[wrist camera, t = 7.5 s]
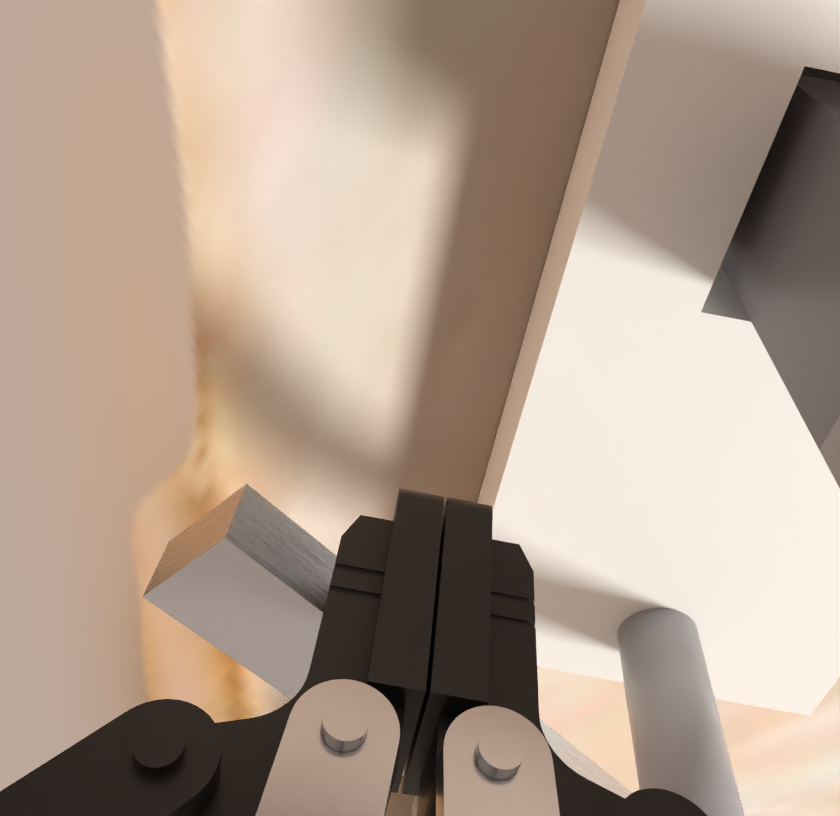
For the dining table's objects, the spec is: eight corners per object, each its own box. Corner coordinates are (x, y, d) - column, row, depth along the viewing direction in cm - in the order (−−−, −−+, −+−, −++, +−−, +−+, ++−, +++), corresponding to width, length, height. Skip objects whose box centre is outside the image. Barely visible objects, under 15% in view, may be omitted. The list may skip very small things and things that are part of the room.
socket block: (652, -116, 16) (813, -81, 8) (1213, 1, 17) (1933, 154, 8) (454, 582, 28) (434, 890, 20) (783, 641, 29) (900, 969, 20)
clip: (790, 906, 18) (806, 966, 17) (690, 933, 20) (700, 990, 19) (259, 474, 12) (237, 528, 11) (158, 549, 13) (131, 605, 12)
